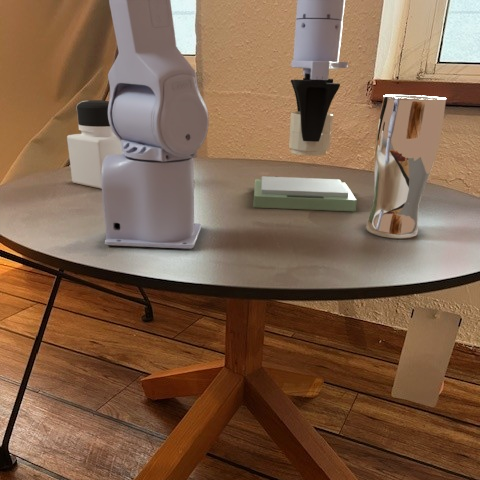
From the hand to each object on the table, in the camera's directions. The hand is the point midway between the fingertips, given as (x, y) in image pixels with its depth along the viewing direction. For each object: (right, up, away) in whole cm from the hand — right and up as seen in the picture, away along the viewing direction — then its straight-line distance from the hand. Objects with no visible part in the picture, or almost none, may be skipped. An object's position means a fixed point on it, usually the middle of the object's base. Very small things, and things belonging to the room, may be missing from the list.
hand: (309, 137), depth 68 cm
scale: (0, -7, +6) cm, 9 cm away
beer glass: (+9, -14, -6) cm, 18 cm away
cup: (0, -2, +1) cm, 2 cm away
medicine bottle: (-31, -3, +12) cm, 33 cm away
